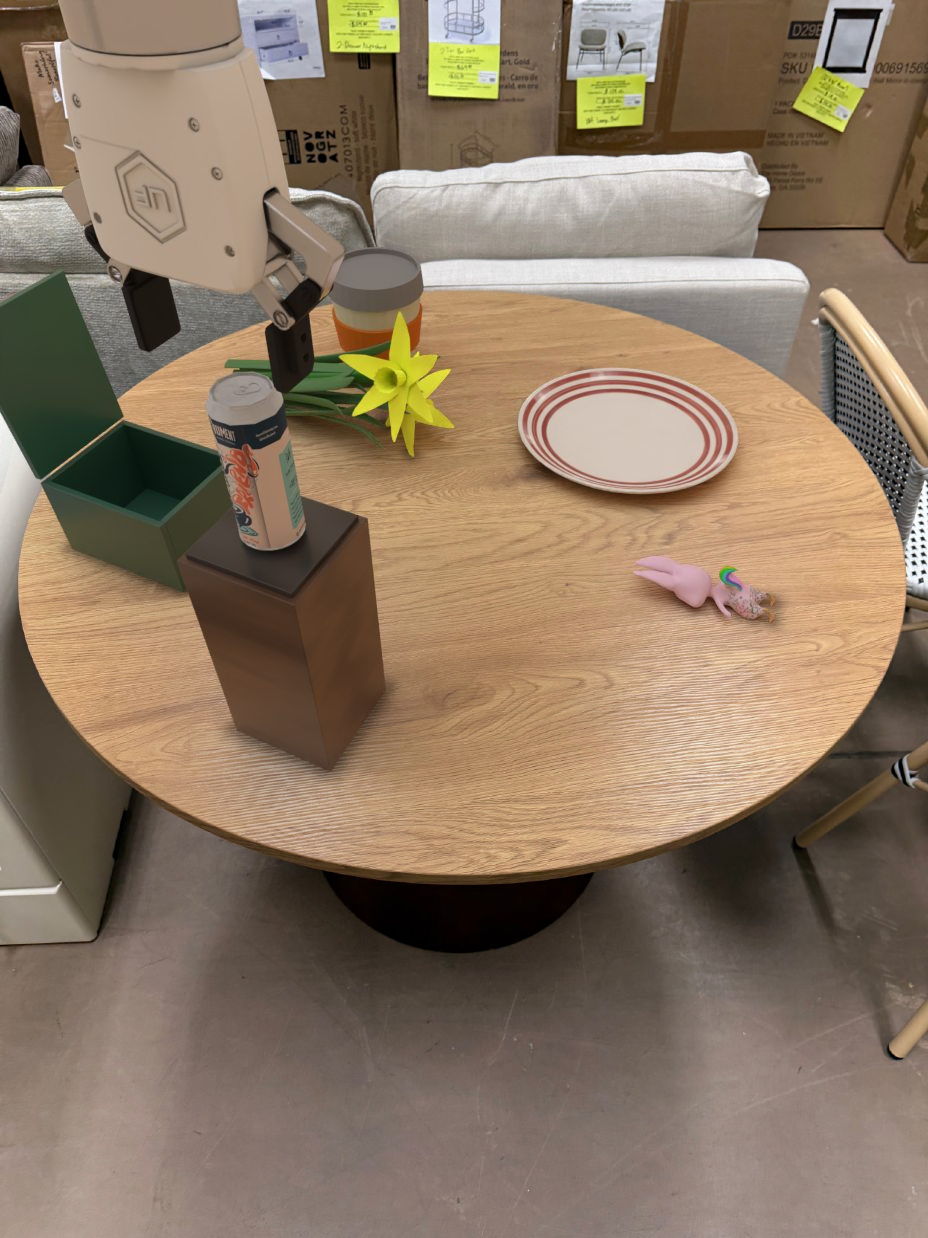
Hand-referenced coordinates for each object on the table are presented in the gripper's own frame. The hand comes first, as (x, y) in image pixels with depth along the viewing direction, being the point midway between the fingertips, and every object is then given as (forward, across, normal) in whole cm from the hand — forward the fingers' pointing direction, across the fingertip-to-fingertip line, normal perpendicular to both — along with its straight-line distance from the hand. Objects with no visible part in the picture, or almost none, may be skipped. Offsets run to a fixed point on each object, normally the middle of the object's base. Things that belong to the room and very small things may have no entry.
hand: (226, 360), depth 49 cm
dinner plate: (+36, +14, +54) cm, 66 cm away
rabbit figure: (+36, +30, +31) cm, 56 cm away
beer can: (+14, 0, +1) cm, 14 cm away
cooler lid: (+19, -35, +14) cm, 42 cm away
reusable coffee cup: (+36, -22, +55) cm, 70 cm away
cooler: (+37, -27, +14) cm, 48 cm away
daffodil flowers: (+36, -20, +39) cm, 57 cm away
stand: (+37, +1, +1) cm, 37 cm away
